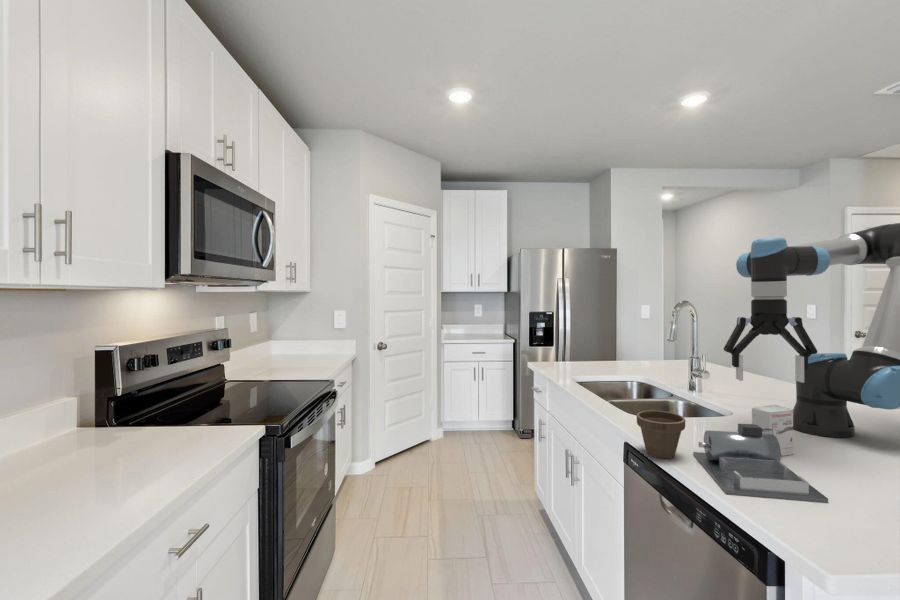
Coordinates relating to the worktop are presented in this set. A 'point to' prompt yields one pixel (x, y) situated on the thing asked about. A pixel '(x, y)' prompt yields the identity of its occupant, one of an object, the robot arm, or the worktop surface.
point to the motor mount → (752, 465)
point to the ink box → (776, 424)
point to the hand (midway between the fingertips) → (769, 380)
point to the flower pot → (660, 432)
